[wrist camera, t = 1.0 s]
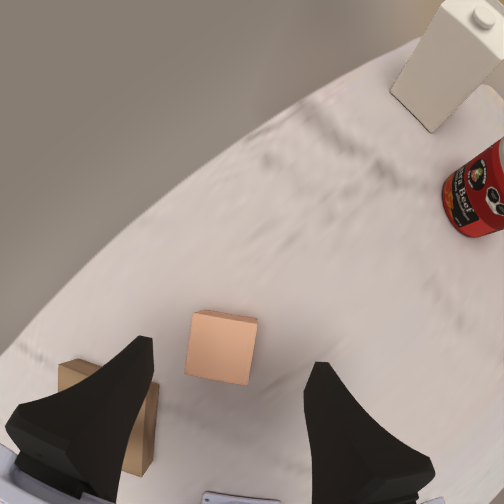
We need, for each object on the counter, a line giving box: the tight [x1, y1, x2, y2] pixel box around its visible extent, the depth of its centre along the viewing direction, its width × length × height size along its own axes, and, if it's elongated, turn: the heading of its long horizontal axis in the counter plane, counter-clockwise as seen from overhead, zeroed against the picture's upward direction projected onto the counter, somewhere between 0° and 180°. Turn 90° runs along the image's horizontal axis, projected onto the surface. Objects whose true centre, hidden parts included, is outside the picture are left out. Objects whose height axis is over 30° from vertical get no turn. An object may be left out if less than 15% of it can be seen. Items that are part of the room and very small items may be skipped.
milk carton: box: [390, 0, 504, 133], centre depth 20 cm, size 7×7×19 cm
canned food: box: [443, 137, 504, 237], centre depth 22 cm, size 8×8×11 cm
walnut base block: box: [58, 358, 159, 477], centre depth 22 cm, size 9×9×4 cm
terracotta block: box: [184, 310, 258, 385], centre depth 23 cm, size 4×4×6 cm
